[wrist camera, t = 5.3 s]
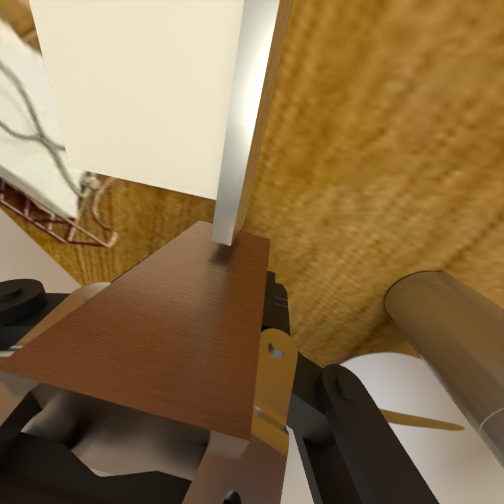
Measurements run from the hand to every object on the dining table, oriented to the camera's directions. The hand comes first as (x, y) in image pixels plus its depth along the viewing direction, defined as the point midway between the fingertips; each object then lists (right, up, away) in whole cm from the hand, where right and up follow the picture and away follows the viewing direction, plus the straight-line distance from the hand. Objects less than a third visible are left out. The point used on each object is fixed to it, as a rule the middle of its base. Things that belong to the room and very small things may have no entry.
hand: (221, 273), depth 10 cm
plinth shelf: (-5, +17, +10) cm, 20 cm away
